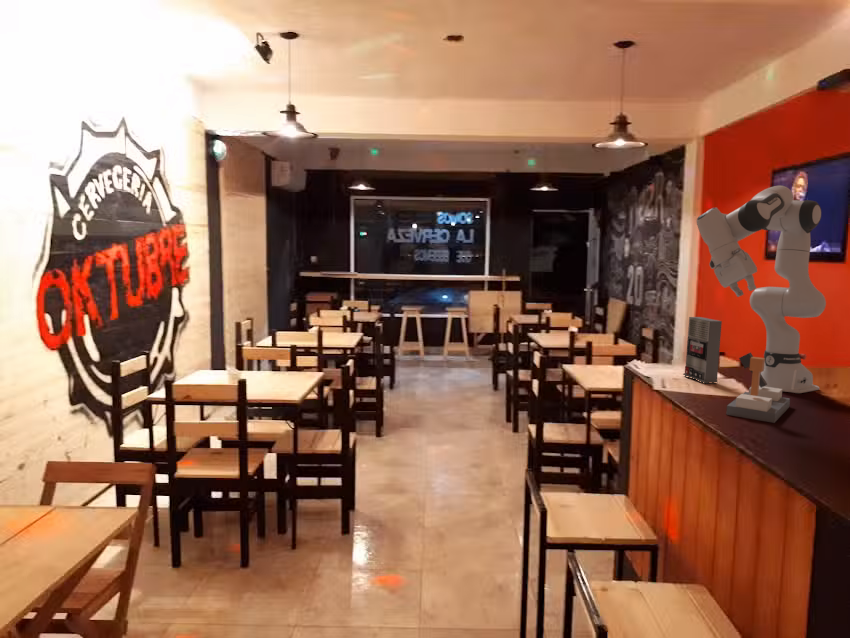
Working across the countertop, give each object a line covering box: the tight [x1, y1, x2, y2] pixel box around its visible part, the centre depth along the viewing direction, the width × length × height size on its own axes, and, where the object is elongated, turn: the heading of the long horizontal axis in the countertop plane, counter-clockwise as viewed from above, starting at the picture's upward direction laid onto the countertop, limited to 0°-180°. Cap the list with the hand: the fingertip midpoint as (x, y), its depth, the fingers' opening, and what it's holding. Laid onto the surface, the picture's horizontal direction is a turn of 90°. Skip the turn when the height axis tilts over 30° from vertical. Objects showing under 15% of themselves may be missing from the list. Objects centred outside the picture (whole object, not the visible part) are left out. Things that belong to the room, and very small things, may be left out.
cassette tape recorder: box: [683, 316, 723, 384], centre depth 260 cm, size 14×6×25 cm, turn 12°
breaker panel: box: [725, 386, 791, 424], centre depth 214 cm, size 26×14×6 cm, turn 142°
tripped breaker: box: [748, 356, 765, 396], centre depth 206 cm, size 3×4×12 cm
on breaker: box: [738, 352, 767, 387], centre depth 223 cm, size 3×4×12 cm
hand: (746, 293), depth 209 cm, fingers open, 8 cm apart
